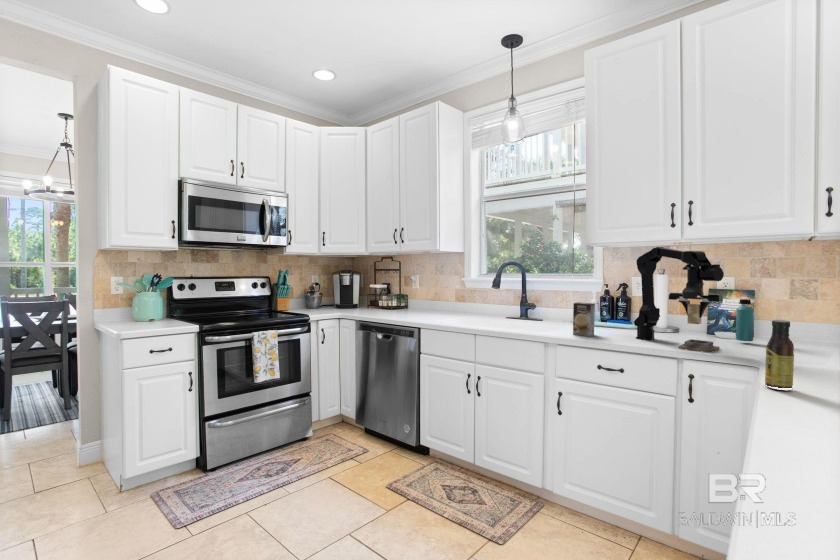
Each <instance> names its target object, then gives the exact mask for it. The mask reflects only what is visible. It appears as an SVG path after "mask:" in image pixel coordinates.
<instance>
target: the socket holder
mask: <svg viewBox="0 0 840 560" xmlns="http://www.w3.org/2000/svg"><path fill="white" fill-rule="evenodd" d="M677 348H679V350H686V349H687V350H688V351H693V350H695V352H701V351H703V353H709V352H712V353H714V352H716V351H718V350H720V346H718V345H714V341H709V340H701V339H692V338H691V339H688V340H685V341H684V343H683V344H681V345H678V347H677ZM717 349H718V350H717ZM687 350H686V351H687ZM715 350H716V351H715ZM713 351H714V352H713Z"/></svg>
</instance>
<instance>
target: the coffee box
mask: <svg viewBox="0 0 840 560" xmlns="http://www.w3.org/2000/svg"><path fill="white" fill-rule="evenodd" d="M595 305H596V304H595V303H593V302H574V303H573V305H572V306H573V307H572V309H573V311H572V312H573V313H572V316H573V317H572V319H573V321H572V335H576V336H577V335H578V336H585V337H591V336H594V335H595V314H596V313H595V312H596V309H595V308H596V306H595Z"/></svg>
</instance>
